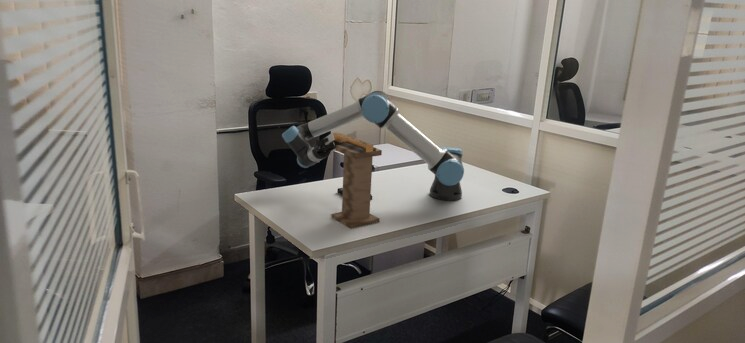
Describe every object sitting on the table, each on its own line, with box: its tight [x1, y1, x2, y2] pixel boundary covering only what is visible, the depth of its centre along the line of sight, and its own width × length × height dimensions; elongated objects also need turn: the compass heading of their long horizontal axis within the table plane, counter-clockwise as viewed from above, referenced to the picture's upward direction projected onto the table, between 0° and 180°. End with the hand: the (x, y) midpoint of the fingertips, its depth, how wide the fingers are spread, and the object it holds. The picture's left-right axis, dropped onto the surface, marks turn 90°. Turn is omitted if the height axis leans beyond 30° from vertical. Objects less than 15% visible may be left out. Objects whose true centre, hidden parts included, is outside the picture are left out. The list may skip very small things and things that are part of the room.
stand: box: [331, 142, 383, 230], centre depth 214 cm, size 14×14×31 cm
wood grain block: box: [330, 132, 374, 152], centre depth 214 cm, size 24×4×2 cm, turn 37°
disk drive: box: [336, 187, 373, 201], centre depth 247 cm, size 10×3×15 cm
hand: (345, 135), depth 216 cm, fingers open, 11 cm apart
